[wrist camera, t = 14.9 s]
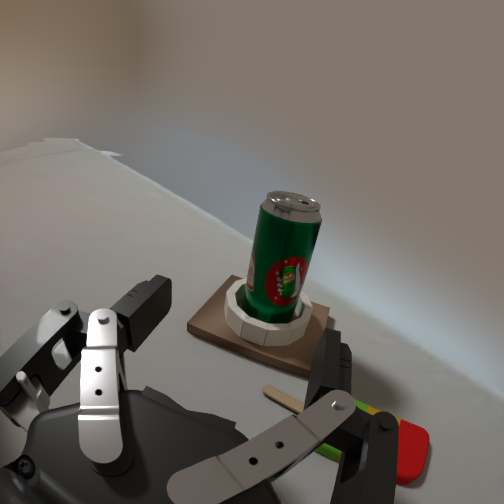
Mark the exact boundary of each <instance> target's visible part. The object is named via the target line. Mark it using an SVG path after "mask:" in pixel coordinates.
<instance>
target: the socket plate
mask: <svg viewBox="0 0 504 504" xmlns="http://www.w3.org/2000/svg"><path fill="white" fill-rule="evenodd" d="M246 280H247V278H244V279H243V278H240V277H237V276H234V275H231V276H230V277H229V278H228V279H227V280H226V281H225V283H224V284H223V285H222V286H221V287H220V288H219V289H218V290H217V291H216V292H215V293H214V294H213V295H212V297H211V298H210V299H209V300H208V301H207V302H206V303H205V304H204V305H203V306H202V307H201V308H200V309H199V311H198V312H197V313H196V314H195V315H194V316H193V317H192V318H191V319H190V320H189V321H188V322H187V331H189V332H191V333H193V334H196V335H198V336H200V337H202V338H205V339H207V340H209V341H212V342H214V343H216V344H219V345H221V346H223V347H226V348H228V349H231V350H233V351H236V352H238V353H240V354H243V355H246V356H248V357H251V358H253V359H256V360H259V361H261V362H264V363H267V364H269V365H272V366H275V367H278V368H280V369H283V370H286V371H289V372H292V373H295V374H298V375H301V376H304V377H307V378H309V376H310V370H311V364H312V359H313V355H314V352H315V350H316V348H317V345H318V343H319V341H320V339H321V337H322V334H323V332H324V330H325V328H326V323H327V319H328V314H329V310H330V308H329V307H326V306H323V305H320V304H316V303H313V302H310V301H309V299H308V297H307V295H306V294H305V293H304V292H302V291H301V294H300V297H299V300H298V303H297V306H296V309H295V312H294V315H293V318H292V321H291V322H290V323H288V324H268V323H265V322H263V321H260V320H257V319H254V318H252V317H249V316H248V315H247V314H246V313H245V312H244V311H243V310H242V309H241V307H242V302H243V297H244V291H245V286H246Z"/></svg>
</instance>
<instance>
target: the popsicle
mask: <svg viewBox="0 0 504 504" xmlns="http://www.w3.org/2000/svg"><path fill="white" fill-rule="evenodd" d="M263 394H265V395H266V396H268V397H270V398H271V399H273V400H275V401H277V402H278V403H280V404H282V405H284V406H285V407H287V408H289V409H291V410H293V411H295V412H297V413H298V414H299V413H301V412H302V411H303V409H304V404H305V403H303V402H301V401H299V400H297V399H295V398H293V397H291V396H290V395H288V394H286V393H284V392H282V391H281V390H279V389H277V388H275V387H274V386H272V385H266V386H265V387H264V389H263ZM354 400H355V403H356V406H357V407H358V408H360V409H361V410H363V411H365V412H367V413H369V414H371V415H374V414H375V413H377V412H382V411H380V410H378V409H376V408H373V407H371V406H369V405H367V404H364V403H362V402H360V401H358V400H356V399H354ZM395 418H396V419H397V421H398V424H399V444H398V464H397V477H396V484H401V485H404V484H408V483H410V482H412V481H414V480H415V479H417V478H418V477H419V476H420V474H421V473H422V471H423V468H424V464H425V460H426V456H427V451H428V446H429V434H428V432H427V431H426V430H425V429H424V428H422V427H420V426H417V425H414V424H412V423H409V422H407V421H404V420H402V419H399V418H397V417H395ZM316 452H318V453H320V454H322V455H324V456H326V457H328V458H331V459H333V460H335V461H337V462H340V458H341V452H342V451H340V450H338V449H336V448H334V447H332V446H330V445H328V444H326V443H324V444H323V445H322V446H321V447H319V448H318V449H317V450H316Z"/></svg>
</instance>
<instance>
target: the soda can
mask: <svg viewBox="0 0 504 504" xmlns="http://www.w3.org/2000/svg"><path fill="white" fill-rule="evenodd" d="M319 210H320V204H319V203H317V202H316V201H315V200H313V199H311V198H308V197H306V196H303V195H299V194H295V193H290V192H283V191H274V192H269V193H268V194H267V199H266V200H265V201H264V202H263V203H262V204H261V206H260V210H259V216H258V221H257V226H256V232H255V237H254V243H253V248H252V253H251V259H250V264H249V270H248V275H247V280H246V286H245V291H244V297H243V302H242V307H241V309H242V310H243V311H244V312H245V313H246V314H247V315H248V316H249V317H252V318H254V319H257V320H260V321H263V322H265V323H268V324H288V323H290V322H291V321H292V318H293V315H294V312H295V309H296V306H297V303H298V300H299V297H300V294H301V290H302V287H303V284H304V281H305V277H306V274H307V271H308V268H309V264H310V261H311V257H312V254H313V250H314V247H315V243H316V240H317V236H318V232H319V229H320V225H321V222H322V219H321V216H320V213H319Z"/></svg>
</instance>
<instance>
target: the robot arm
mask: <svg viewBox="0 0 504 504" xmlns="http://www.w3.org/2000/svg"><path fill="white" fill-rule="evenodd" d="M171 303H172V281H171V279H169V278H166V277H163V276H161V275H156V276H155V277H153V278H152V279H151V280H150V281H147V280H146V281H143V282H141V283H139V284H137V285H136V286H135V287H134V288H132V290H130V291H129V292H128V293H127V295H124V296H123V297H122V298H121V299H120V300H119V301H118V302H117V303H115V304H114V305H113V306H112V307H111V308H110V309H104V308H103V309H98V310H96V311H94V312H93V313H92V314H89V313H85V312H80V311H78V307H77V305H76V304H75V303H74V302H72V301H62V302H60V303H58V304H57V305H55V306H54V307H53V308H52V309H51V310H50V311H49V312H47V313H46V314H45V315H44V316H43V317H42V318H41V319H40V320H39V321H37V322H36V323H35V324H34V325H33V326H32V327H31V328H30V329H29V330H28V331H27V332H26V333H25V334H24V335H22V336H21V337H20V338H19V339H18V340H17V341H16V342H15V343H14V344H13V345H12V346H11V347H10V348H9V349H8V350H7V351H6V352H5V353H4V354H3V355H2V356H1V357H0V410H1V411H2V412H3V414H4V415H5V416H6V417H8V418H9V419H10V420H11V421H12V422H13V424H15V425H16V426H18V427H22V428H23V429H24V430H25V431H26V432H27V433H28V434H27V440H26V444H25V447H24V450H23V452H22V454H21V456H20V457H19V458H18V459H17V460H15V461H14V462H12V463H10V464H8V465H6V466H3V467H1V468H0V504H281V503H280V501H279V499H278V497H277V495H276V493H275V491H274V489H273V487H272V484H271V483H272V482H274V481H275V480H277V479H278V478H280V477H281V476H283V475H284V474H285V473H287V472H288V471H290V470H291V469H292V468H293V467H295V466H296V465H297V464H298V463H300V462H301V461H302V460H304V459H305V458H306V457H308V456H309V455H310V454H312V453H313V452H314V451H316V450H317V449H318V448H319V447H321V446H322V445H323V444H324V443H326V444H328V445H330V446H332V447H334V448H336V449H338V450H340V451H342V452H341V458H340V463H339V468H338V472H337V477H336V481H335V486H334V490H333V494H332V498H331V502H330V504H394V496H395V487H396V477H397V464H398V444H399V424H398V421H397V419H396V418H395V417H394V416H393V415H392V414H390V413H388V412H383V411H382V412H377V413H375V414H374V415H371V414H369V413H367V412H365V411H363V410H361V409H360V408H358V407H357V406H356V403H355V400H354V398H353V397H352V396H351V368H352V363H351V361H352V352H351V350H350V348H349V346H348V344H345V343H341V332H340V331H336V330H332V329H329V328H325V330H324V332H323V334H322V337H321V339H320V341H319V343H318V345H317V348H316V350H315V352H314V355H313V359H312V364H311V370H310V376H309V382H308V388H307V393H306V399H305V404H304V409H303V411H302V412H301V413H299V414H298V415H296V416H295V415H291V416H289V417H287V418H285V419H284V420H282V421H281V422H279V423H277V424H276V425H274V426H273V427H271V428H269V429H268V430H266V431H264V432H263V433H261V434H259V435H257V436H256V437H254V438H252V439H250V440H248V438H247V437H245V436H244V435H243V434H242V433H241V432H239V431H238V430H236V429H235V425H236V422H233V421H230V420H227V419H224V418H222V417H219V416H216V415H213V414H207V413H201V412H195V411H189V410H186V409H184V408H183V407H182V406H180V405H179V404H178V403H176V402H175V401H173V400H172V399H171V398H170V397H168V396H167V395H165V394H163V393H160V392H158V391H156V390H154V389H152V388H150V387H148V386H146V387H145V389H144V390H143V391H140V390H128V388H127V382H126V371H125V358H124V352H125V351H126V349H129V350H131V351H133V352H135V351H136V350H137V349H138V348H139V346H140V345H141V344H142V343H143V342H144V340H145V339H146V338H147V337H148V336H149V335H150V333H151V332H152V331H153V330H154V329H155V328H156V326H157V325H158V324H159V323H160V322H161V321H162V319H163V318H164V317H165V316H166V315H167V313H168V312H169V310H170V308H171ZM61 338H62V339H63V340H62V342H61V343H60V344H59V345H58V346H57V347H56V348H55V349H54V350H53V351H52V348H53V346H54V345H55V344H56V343H57V342H58V341H59V340H60V339H61ZM81 358H82V364H81V395H80V402H79V403H75V404H71V405H67V406H63V407H59V408H55V409H50V410H49V408H48V407H49V404H50V398H49V397H50V396H51V395H52V394H53V392H54V391H55V390H56V389H57V387H58V386H59V385H60V384H61V382H62V381H63V380H64V379H65V378H66V376H67V375H68V374H69V373H70V371H71V370H72V369H73V368H74V367H75V366H76V364H77V363H78V362H79V361H80V360H81Z"/></svg>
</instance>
